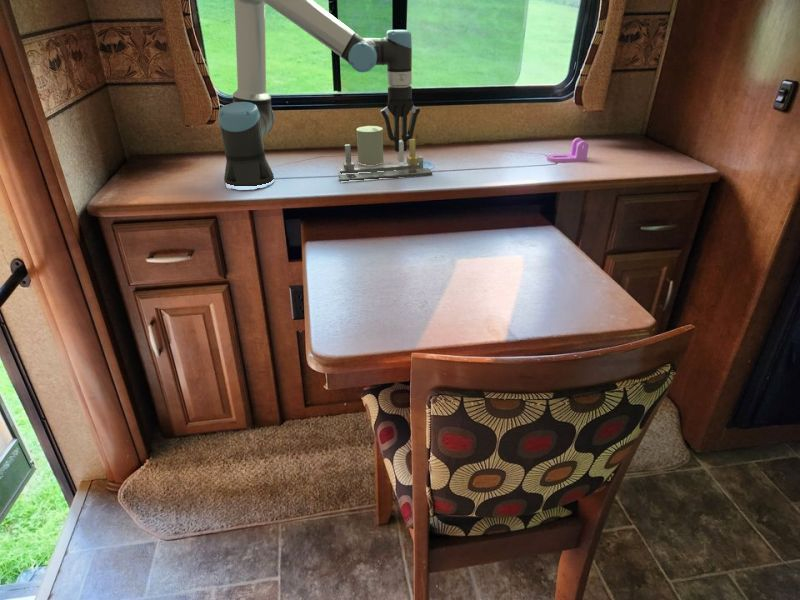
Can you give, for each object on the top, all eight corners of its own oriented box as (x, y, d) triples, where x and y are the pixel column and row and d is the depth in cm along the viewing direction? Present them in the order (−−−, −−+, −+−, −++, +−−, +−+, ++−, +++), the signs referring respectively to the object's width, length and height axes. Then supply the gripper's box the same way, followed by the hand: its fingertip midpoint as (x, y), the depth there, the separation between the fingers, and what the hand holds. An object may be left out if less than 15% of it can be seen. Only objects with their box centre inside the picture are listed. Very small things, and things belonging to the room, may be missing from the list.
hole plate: (340, 182, 164) (340, 179, 163) (338, 178, 168) (338, 174, 167) (432, 175, 169) (432, 172, 169) (428, 170, 173) (428, 167, 173)
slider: (409, 165, 174) (409, 140, 170) (407, 162, 176) (406, 138, 172) (417, 164, 174) (418, 140, 170) (415, 161, 177) (415, 138, 173)
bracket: (579, 157, 186) (582, 137, 182) (585, 161, 181) (589, 141, 178) (544, 158, 185) (547, 138, 181) (549, 163, 180) (552, 142, 177)
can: (372, 167, 178) (371, 131, 171) (352, 163, 182) (350, 128, 176) (389, 161, 184) (388, 126, 178) (369, 157, 189) (367, 123, 183)
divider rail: (340, 175, 170) (338, 146, 165) (339, 172, 173) (337, 144, 168) (423, 168, 175) (423, 140, 171) (420, 166, 178) (421, 138, 173)
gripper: (381, 88, 157) (383, 165, 169) (423, 86, 160) (422, 162, 172) (376, 84, 164) (379, 159, 176) (416, 82, 166) (416, 156, 178)
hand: (400, 160), depth 174 cm, fingers closed
